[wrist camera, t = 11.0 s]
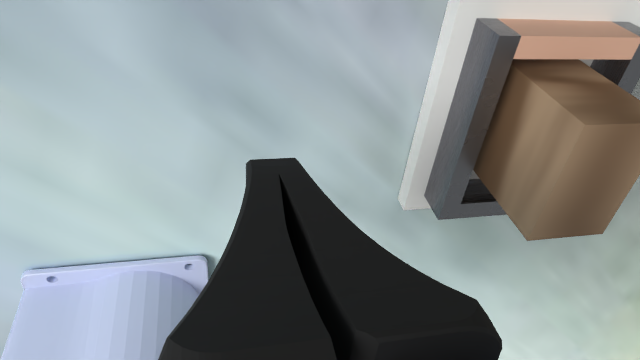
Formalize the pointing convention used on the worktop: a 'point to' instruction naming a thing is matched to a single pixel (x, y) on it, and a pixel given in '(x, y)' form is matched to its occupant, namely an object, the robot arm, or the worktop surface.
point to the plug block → (560, 148)
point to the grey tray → (502, 84)
